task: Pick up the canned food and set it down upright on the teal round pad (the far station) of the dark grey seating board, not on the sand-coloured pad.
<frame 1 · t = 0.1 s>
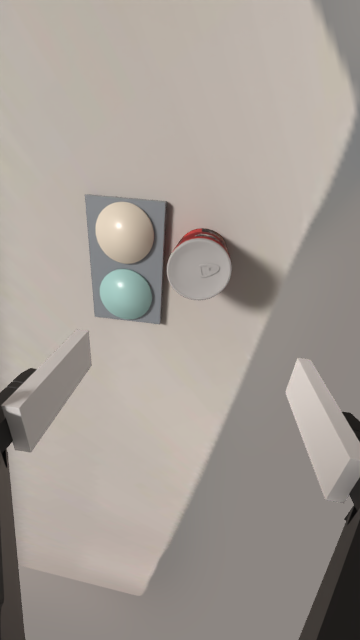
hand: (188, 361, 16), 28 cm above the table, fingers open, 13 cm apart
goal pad: (128, 292, 45), resting on seating board
canned food: (201, 252, 41), on the table
seating board: (128, 263, 43), on the table
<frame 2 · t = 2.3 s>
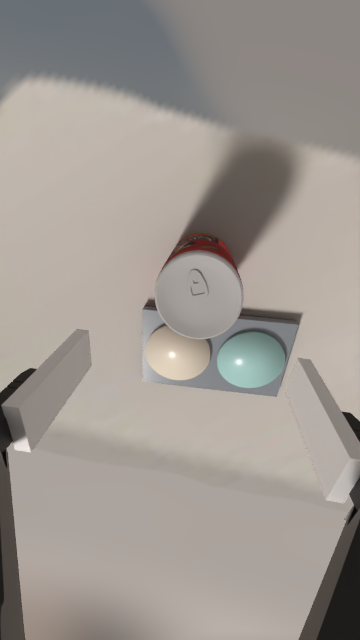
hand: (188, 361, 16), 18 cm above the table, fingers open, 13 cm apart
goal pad: (248, 354, 36), resting on seating board
canned food: (200, 266, 32), on the table
seating board: (213, 350, 37), on the table
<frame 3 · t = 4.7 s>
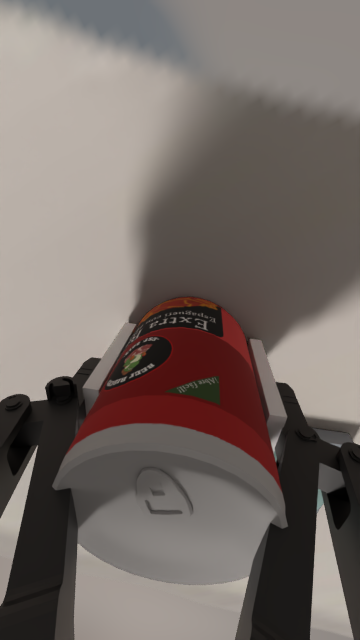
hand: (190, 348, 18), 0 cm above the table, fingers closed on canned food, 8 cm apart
canned food: (190, 344, 18), on the table, touching gripper
seating board: (209, 462, 23), on the table
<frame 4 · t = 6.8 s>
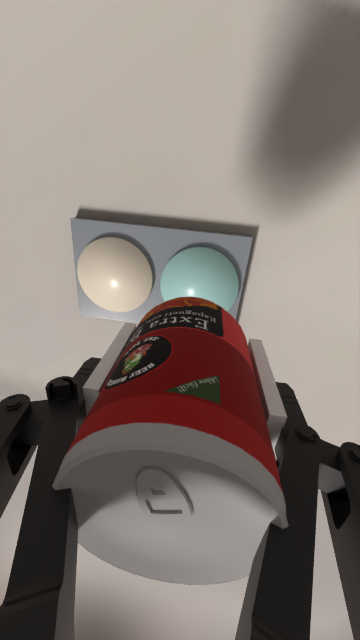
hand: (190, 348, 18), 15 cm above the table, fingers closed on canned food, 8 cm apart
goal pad: (199, 282, 31), resting on seating board
canned food: (190, 344, 18), point 15 cm above the table, touching gripper
seating board: (158, 277, 31), on the table
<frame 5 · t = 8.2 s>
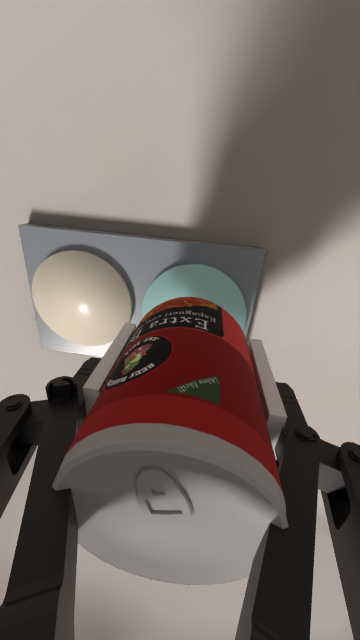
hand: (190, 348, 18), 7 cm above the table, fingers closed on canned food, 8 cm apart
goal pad: (194, 308, 24), resting on seating board
canned food: (190, 344, 18), point 6 cm above the table, touching gripper
seating board: (141, 301, 24), on the table
when the fingers open (3 cm above the table, at t = 9.4 s): canned food stays where it is, resting on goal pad.
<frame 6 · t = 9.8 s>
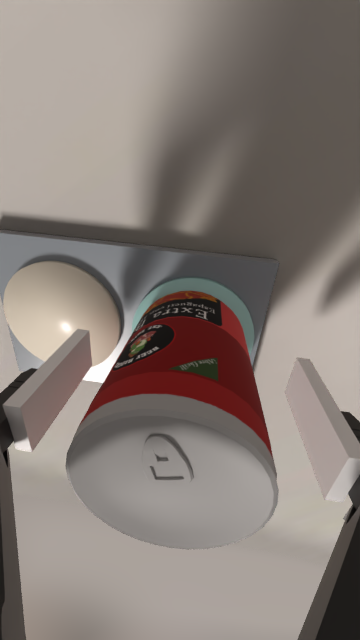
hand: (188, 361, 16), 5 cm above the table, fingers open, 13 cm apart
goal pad: (193, 327, 20), resting on seating board
canned food: (191, 336, 19), point 2 cm above the table, touching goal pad
seating board: (131, 319, 21), on the table
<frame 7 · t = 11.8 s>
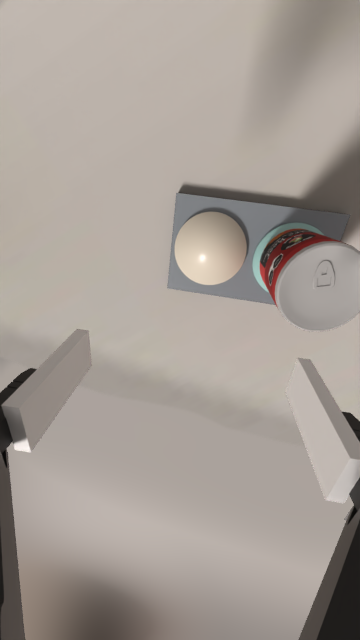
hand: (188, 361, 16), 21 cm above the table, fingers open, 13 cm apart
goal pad: (287, 258, 33), resting on seating board
canned food: (290, 261, 32), point 2 cm above the table, touching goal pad
seating board: (248, 253, 33), on the table
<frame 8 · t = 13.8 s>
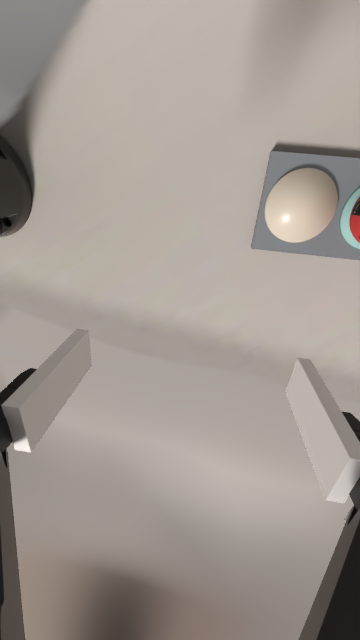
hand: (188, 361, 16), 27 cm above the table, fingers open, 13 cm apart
seating board: (333, 210, 35), on the table
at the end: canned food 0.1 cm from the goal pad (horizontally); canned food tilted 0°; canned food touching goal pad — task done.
